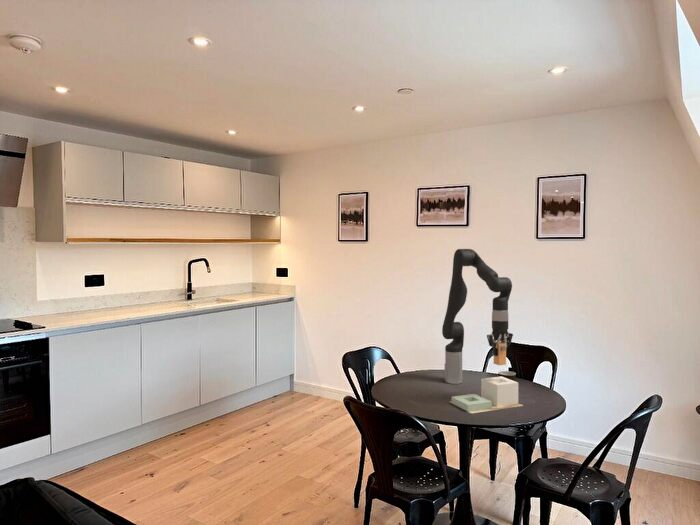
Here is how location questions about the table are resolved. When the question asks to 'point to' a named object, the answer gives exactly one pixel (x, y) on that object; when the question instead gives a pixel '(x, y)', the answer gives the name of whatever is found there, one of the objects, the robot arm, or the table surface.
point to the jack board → (494, 408)
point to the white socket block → (499, 391)
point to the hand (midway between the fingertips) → (499, 355)
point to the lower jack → (471, 402)
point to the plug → (500, 354)
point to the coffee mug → (507, 375)
